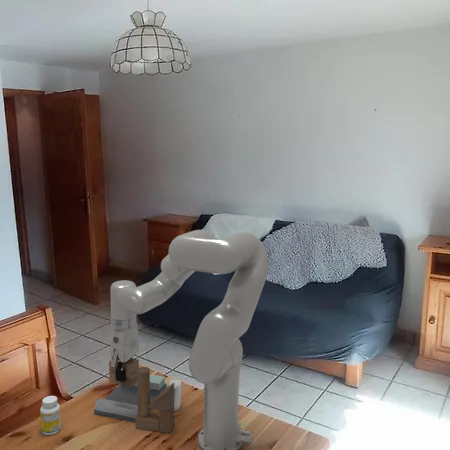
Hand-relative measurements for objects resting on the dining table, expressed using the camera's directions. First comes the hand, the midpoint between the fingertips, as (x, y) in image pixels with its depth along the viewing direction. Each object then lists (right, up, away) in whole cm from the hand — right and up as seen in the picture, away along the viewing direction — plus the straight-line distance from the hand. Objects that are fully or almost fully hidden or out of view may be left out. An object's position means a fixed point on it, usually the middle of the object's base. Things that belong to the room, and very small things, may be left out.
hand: (124, 376), depth 143 cm
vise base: (+1, -10, +6) cm, 11 cm away
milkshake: (+16, -11, +2) cm, 19 cm away
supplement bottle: (-19, -12, -10) cm, 25 cm away
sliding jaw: (+3, -7, +13) cm, 15 cm away
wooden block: (+11, -13, -8) cm, 18 cm away
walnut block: (0, -2, 0) cm, 2 cm away
